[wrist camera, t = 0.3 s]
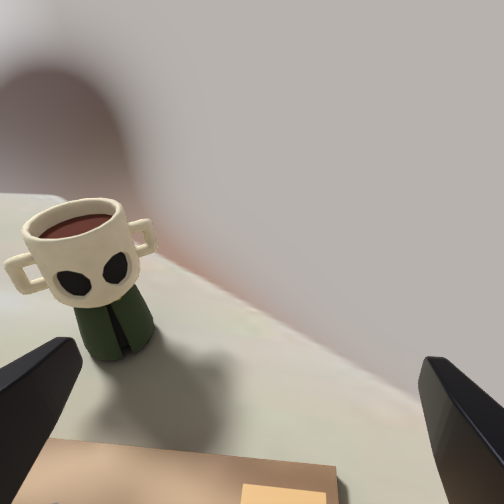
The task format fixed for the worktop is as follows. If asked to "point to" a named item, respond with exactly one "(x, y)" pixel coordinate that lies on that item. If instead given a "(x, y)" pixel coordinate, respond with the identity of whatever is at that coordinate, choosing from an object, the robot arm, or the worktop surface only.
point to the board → (158, 476)
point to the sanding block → (279, 495)
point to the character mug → (90, 270)
